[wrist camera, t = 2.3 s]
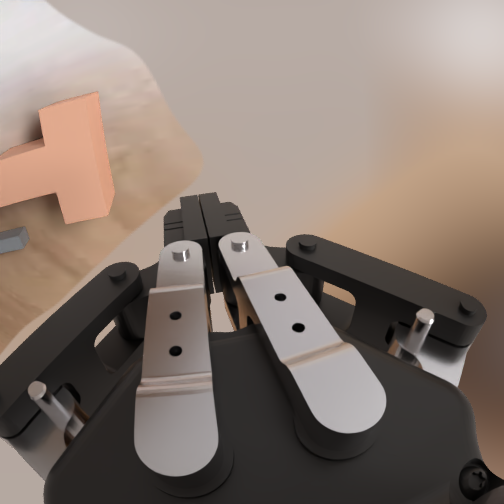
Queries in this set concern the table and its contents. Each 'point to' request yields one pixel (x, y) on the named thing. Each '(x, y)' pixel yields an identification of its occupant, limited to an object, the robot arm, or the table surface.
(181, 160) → the table surface
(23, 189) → the t block
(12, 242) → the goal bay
